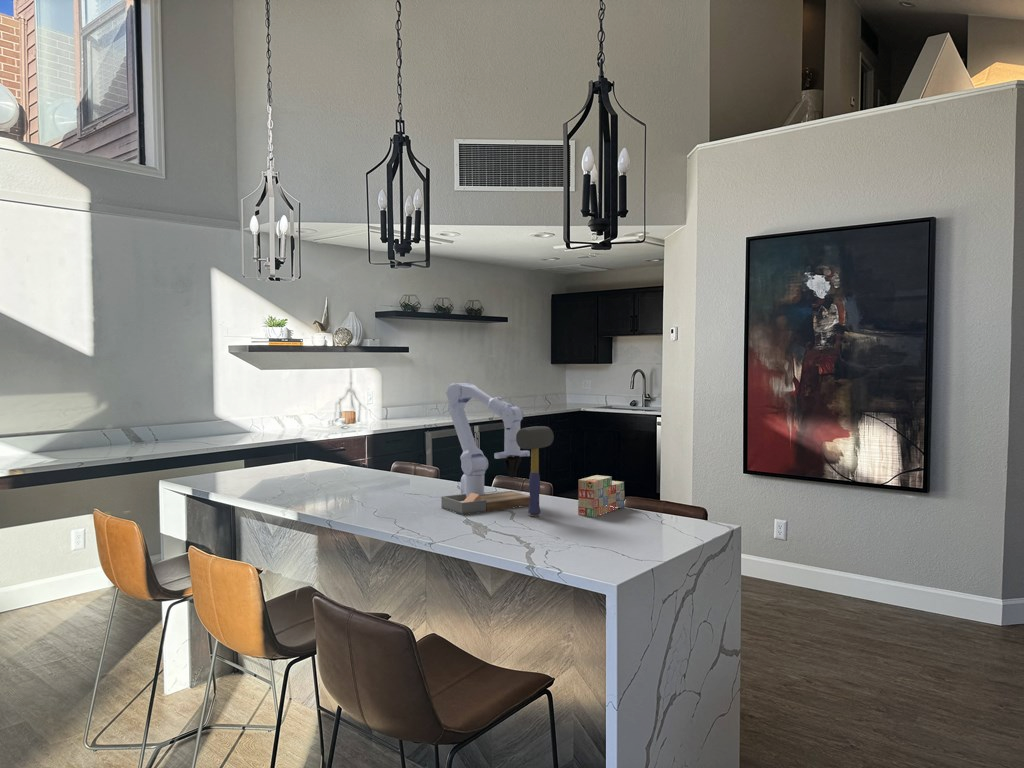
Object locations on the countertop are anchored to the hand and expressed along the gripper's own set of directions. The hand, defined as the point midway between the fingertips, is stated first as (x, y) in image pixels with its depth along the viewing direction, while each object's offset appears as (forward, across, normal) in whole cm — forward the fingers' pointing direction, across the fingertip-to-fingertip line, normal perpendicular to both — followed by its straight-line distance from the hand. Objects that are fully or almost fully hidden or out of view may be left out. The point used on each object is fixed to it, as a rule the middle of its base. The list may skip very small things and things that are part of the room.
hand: (512, 477), depth 258 cm
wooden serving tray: (+9, -6, -1) cm, 11 cm away
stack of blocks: (+10, +18, -29) cm, 35 cm away
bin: (+9, -21, -1) cm, 23 cm away
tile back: (+7, -17, -1) cm, 19 cm away
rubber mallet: (+10, -7, -23) cm, 26 cm away
